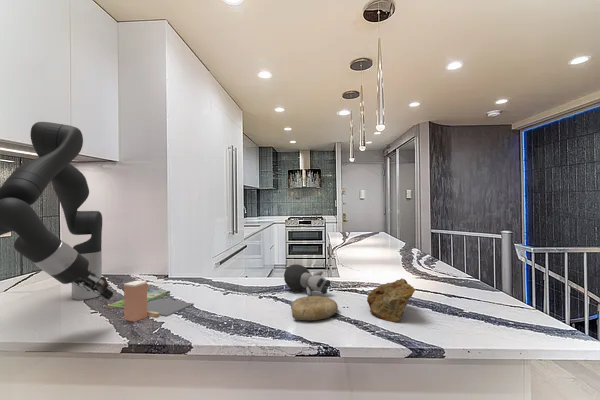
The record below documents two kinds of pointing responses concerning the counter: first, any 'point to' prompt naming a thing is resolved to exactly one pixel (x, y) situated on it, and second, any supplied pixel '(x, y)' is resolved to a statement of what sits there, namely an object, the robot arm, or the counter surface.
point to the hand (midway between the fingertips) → (109, 296)
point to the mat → (167, 306)
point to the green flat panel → (150, 296)
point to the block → (135, 300)
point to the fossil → (313, 308)
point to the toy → (305, 280)
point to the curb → (153, 314)
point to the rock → (390, 300)
